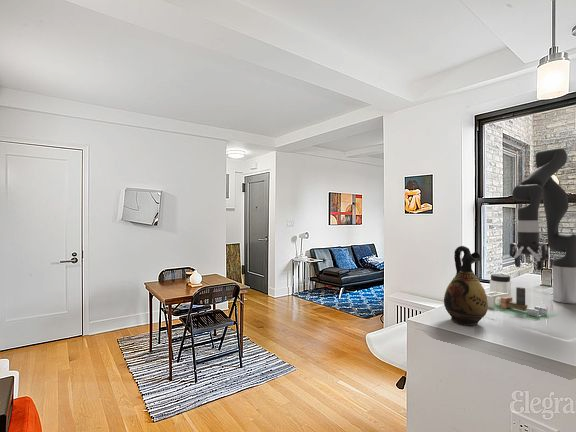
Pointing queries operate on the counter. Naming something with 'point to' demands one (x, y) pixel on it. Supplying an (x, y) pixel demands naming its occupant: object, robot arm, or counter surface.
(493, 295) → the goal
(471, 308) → the ceramic jug
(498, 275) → the jar
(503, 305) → the wooden peg with knob
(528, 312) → the bracket
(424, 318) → the counter surface
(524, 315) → the pitch mat
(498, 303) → the ball
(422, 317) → the counter surface
